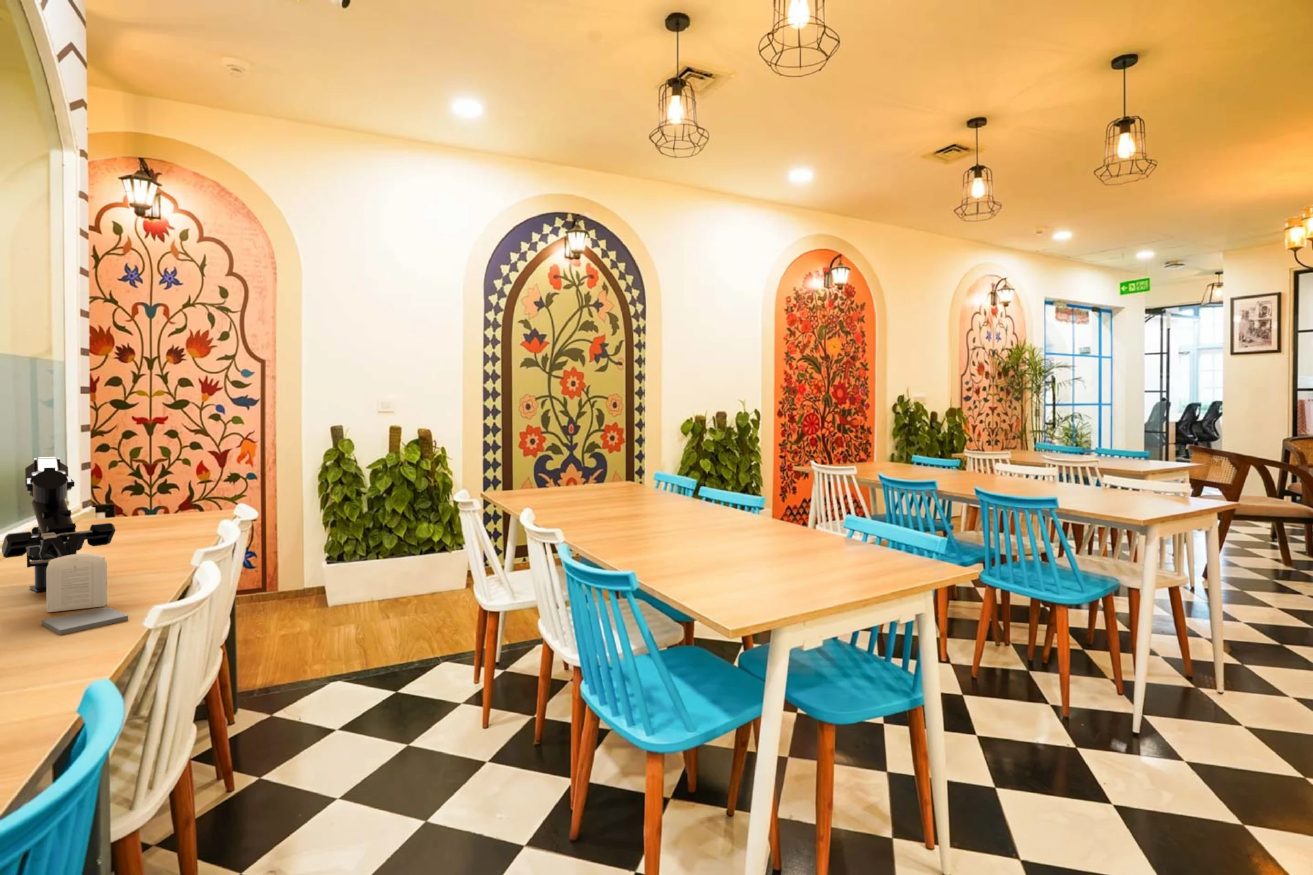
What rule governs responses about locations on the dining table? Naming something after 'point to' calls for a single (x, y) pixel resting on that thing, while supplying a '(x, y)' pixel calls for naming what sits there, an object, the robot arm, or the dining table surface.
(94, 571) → the photo printer
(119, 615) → the board
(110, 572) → the dining table surface
